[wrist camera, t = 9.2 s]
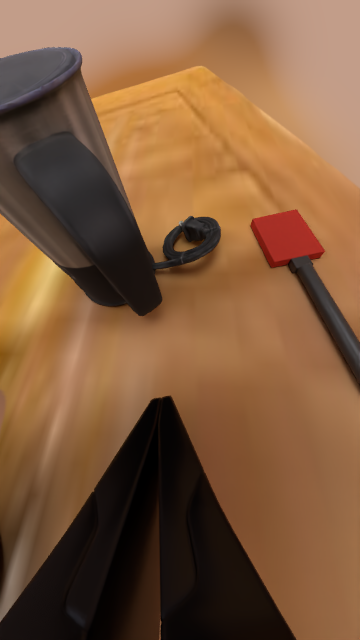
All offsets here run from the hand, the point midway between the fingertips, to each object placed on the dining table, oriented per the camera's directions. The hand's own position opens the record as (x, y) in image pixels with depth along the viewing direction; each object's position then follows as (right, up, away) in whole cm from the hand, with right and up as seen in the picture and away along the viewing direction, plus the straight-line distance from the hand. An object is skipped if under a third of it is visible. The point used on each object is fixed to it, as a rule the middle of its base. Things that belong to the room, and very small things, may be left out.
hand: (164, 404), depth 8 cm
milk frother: (-3, +11, +15) cm, 18 cm away
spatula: (+14, +7, +11) cm, 19 cm away
